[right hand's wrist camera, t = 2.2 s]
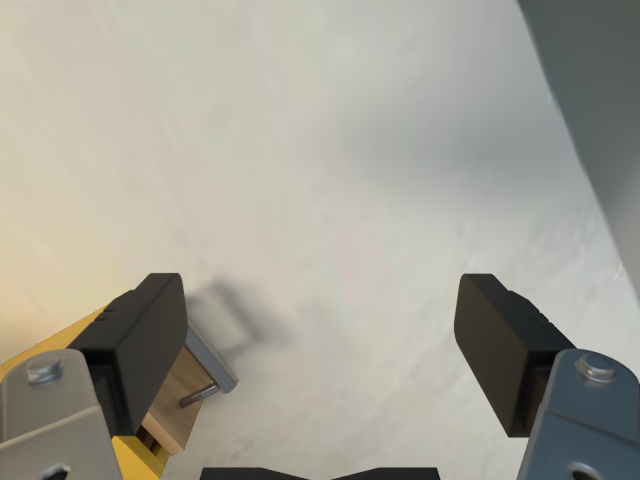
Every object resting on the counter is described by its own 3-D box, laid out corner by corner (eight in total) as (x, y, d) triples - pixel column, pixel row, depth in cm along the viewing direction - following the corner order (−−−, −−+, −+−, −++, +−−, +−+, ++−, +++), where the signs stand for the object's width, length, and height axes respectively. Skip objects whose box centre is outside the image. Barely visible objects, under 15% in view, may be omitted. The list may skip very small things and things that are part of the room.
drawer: (192, 267, 33) (153, 319, 26) (258, 353, 37) (241, 423, 29) (-2, 375, 37) (-86, 450, 30) (73, 445, 41) (15, 528, 33)
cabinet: (124, 294, 35) (51, 371, 26) (199, 382, 39) (160, 478, 29) (-25, 379, 39) (-140, 475, 29) (57, 453, 42) (-22, 560, 33)
